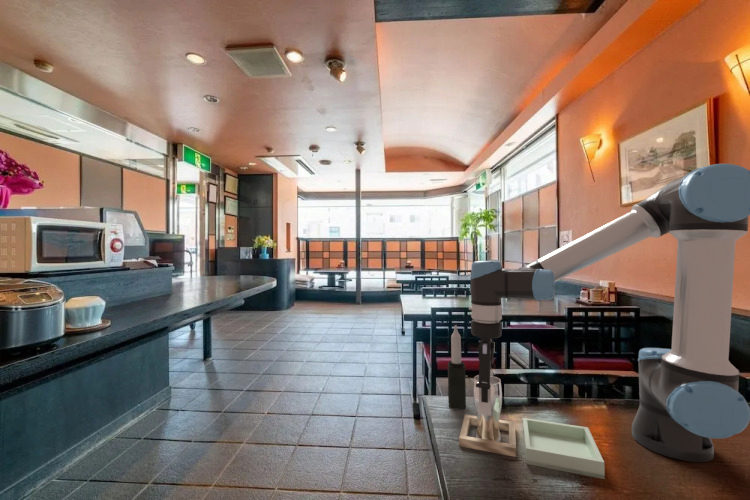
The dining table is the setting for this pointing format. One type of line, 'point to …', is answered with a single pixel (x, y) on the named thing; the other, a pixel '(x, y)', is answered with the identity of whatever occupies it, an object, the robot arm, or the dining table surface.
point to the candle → (456, 374)
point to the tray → (562, 448)
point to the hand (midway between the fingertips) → (486, 402)
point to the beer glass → (486, 423)
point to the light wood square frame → (488, 444)
